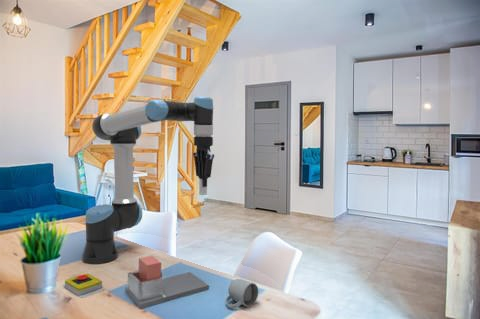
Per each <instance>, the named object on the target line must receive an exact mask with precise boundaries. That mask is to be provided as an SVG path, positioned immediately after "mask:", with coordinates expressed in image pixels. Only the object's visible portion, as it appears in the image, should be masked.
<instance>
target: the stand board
mask: <svg viewBox="0 0 480 319" xmlns="http://www.w3.org/2000/svg"><path fill="white" fill-rule="evenodd" d="M164 278H165V295H162V296H159V297H155V298H151V299H148V300H144V301H140V302H139V301H138V300H137V299H136V297H135V296H134V295H133V294H132V293H131V292H130V291H129V290H128V286H126V287H125V288H124V292H125V294H126V295H127V296H128V298H129V299H131V300H132V302H133V303H134V304H135V305H136V306H137V307H138V309H140V310H141V309H145V308H147V307H152V306H154V305H158V304H162V303H165V302H169V301H172V300H175V299H176V300H177V299H179V298H182V297H186V296H190V295H193V294H197V293H200V292H204V291H208V290H209V289H210V284H208V283H206V282H205V280H204V281H203V280H202V279H201V278H199V277H198V276H196V275H195V274H193V272H191V271H188V272H185V273H184V272H183V273H179V274H175V275H172V276H167V277H164Z"/></svg>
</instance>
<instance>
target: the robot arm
mask: <svg viewBox="0 0 480 319" xmlns="http://www.w3.org/2000/svg"><path fill="white" fill-rule="evenodd" d="M213 100H214V99H213V98H212V97H210V96H195V97H194V99H193V102H182V101H181V102H180V101H169V100H163V99H151V100H148V102H147V103H146V104H144V105H141V106H137V107H134V108H130V109H129V108H128V109H126V110H123V111H119V112H116V113H110V112H109V113H104V114H101V115H100V114H99V115H97V116H96V117H95V118H94V119H93V122H92V131H93V133H94V135H95V136H96V137H97V138H98V139H101V140H103V141H109V142H110V145H111V146H112V148H113V164H114V165H113V167H114V168H113V169H114V170H113V171H114V198H113V199H112V200H111V204H109V203H107V204H106V203H105V204H98V205H95V206H92V207H90V208H88V209H87V210H86V212H85V219H84V222H85V238H86V239H85V241H86V242H85V244H84V249H83V251H82V254H81V260H82V262H83V263H86V264H88V265H89V264H91V265H98V264H99V265H100V264H106V263H110V262H112V261H114V260H117V259H118V258H119V250H118V248H117V245H116V242H115V237H114V236H115V233H116V232H118V231H123V230H127V229H131V228H134V227H136V226H138V225H139V224H140V223H141V221H142V219H143V209H142V207H141V205H140V203H139V202H138V199H136V197H135V196H134V194H135V192H134V147H135V146H136V145H137V140H138V139H140V137H141V135H142V127H143V126H145V125H149V124H153V123H158V122H161V121H170V122H193V135H194V137H193V145H194V146H195V147H196V151H195V152H193V153H192V155H193V159H194V168H195V169H194V170H195V176H196V177H198V180H199V181H198V182H199V183H198V184H199V185H198V188H199V191H198V195H200V196H204V195H205V196H206V195H207V194H208V179H209V178H211V174H212V171H213V170H212V168H213V162H214V158H215V154H213V153H211V147H212V146H213V145H214V137H213V134H214V132H213V131H214V127H213V126H214V123H213V122H214V121H213V120H214V101H213ZM141 126H142V127H141Z"/></svg>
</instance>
